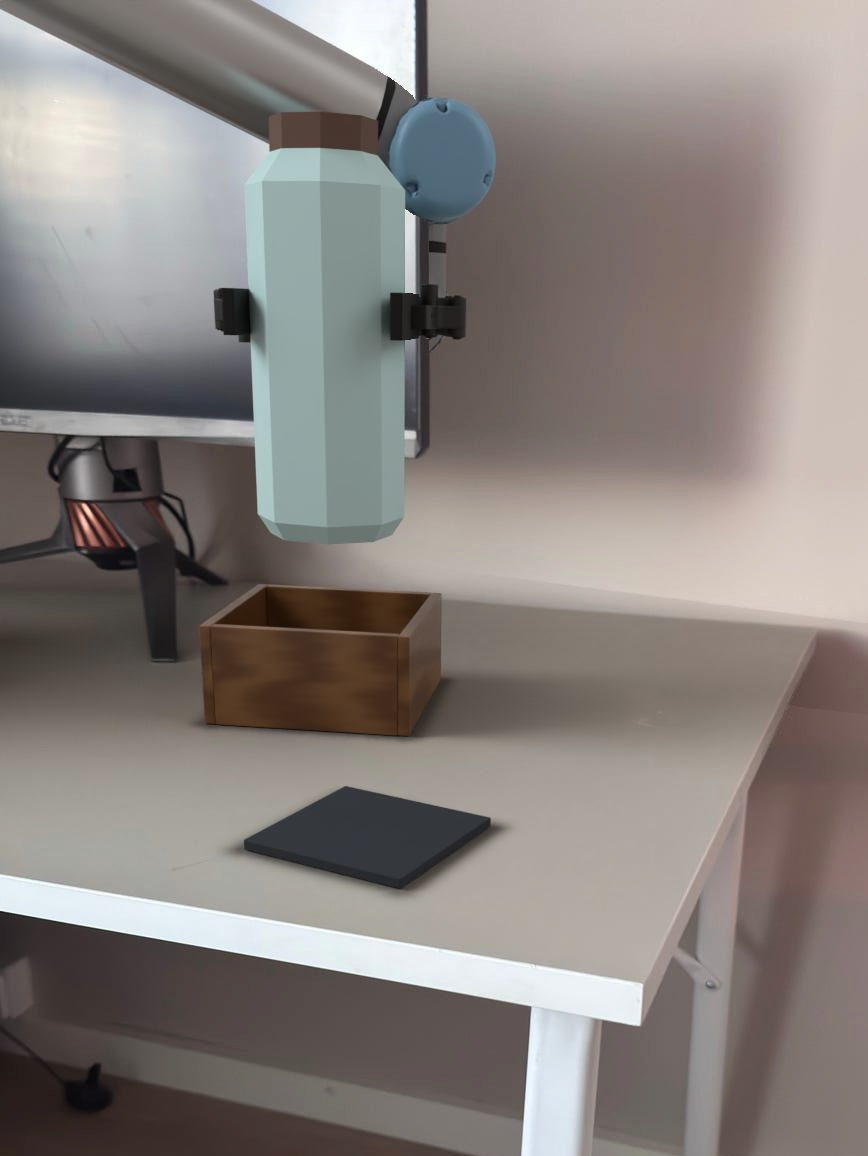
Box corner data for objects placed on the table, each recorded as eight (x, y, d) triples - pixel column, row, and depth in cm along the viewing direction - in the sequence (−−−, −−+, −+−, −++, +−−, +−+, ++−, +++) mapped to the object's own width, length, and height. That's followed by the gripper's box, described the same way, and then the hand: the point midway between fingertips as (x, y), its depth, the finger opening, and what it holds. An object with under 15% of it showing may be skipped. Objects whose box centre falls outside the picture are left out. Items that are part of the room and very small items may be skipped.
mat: (243, 849, 70) (243, 839, 70) (345, 794, 78) (345, 785, 78) (400, 889, 66) (400, 878, 65) (490, 826, 74) (491, 817, 74)
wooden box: (204, 723, 90) (198, 625, 88) (262, 670, 104) (258, 583, 101) (409, 736, 89) (409, 637, 86) (440, 680, 102) (441, 592, 99)
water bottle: (325, 552, 82) (315, 102, 72) (228, 531, 88) (206, 114, 78) (434, 535, 89) (439, 123, 79) (336, 517, 95) (330, 132, 85)
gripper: (521, 369, 100) (491, 385, 79) (240, 360, 102) (140, 373, 81) (525, 263, 97) (494, 251, 76) (235, 255, 99) (130, 242, 78)
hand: (311, 314), depth 79 cm, fingers closed on water bottle, 10 cm apart
